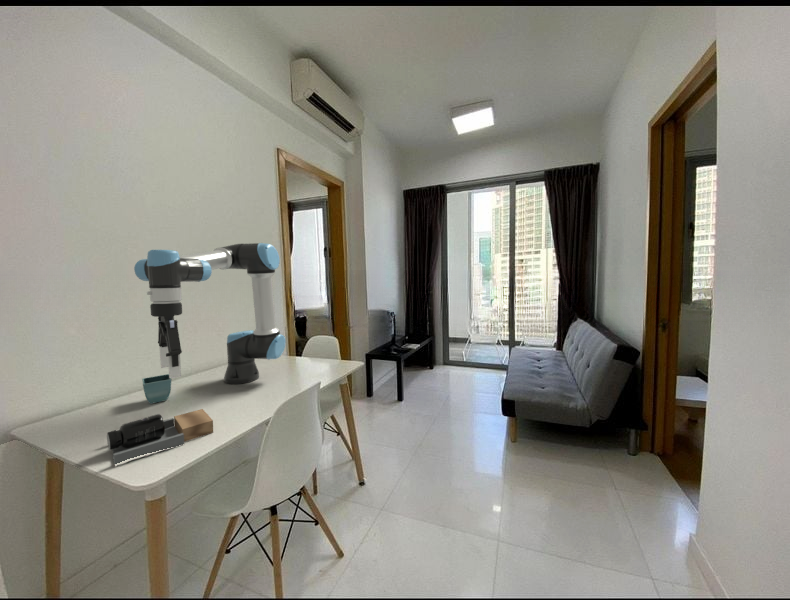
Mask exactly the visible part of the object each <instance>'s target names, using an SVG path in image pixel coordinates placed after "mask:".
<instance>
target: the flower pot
mask: <svg viewBox="0 0 790 600" xmlns="http://www.w3.org/2000/svg"><path fill="white" fill-rule="evenodd" d="M172 379H173V378H169V373H167V374H162V375H156V376H149V377H143V378H141V380H142V381H141V382H142V388H143V392H144V397H145V399H146V400H147V402H148V403H149V404H151V405H152V404H155V403H161V402H166V401H167V400H168V399H169V397H170V394H171V390H172Z"/></svg>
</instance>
